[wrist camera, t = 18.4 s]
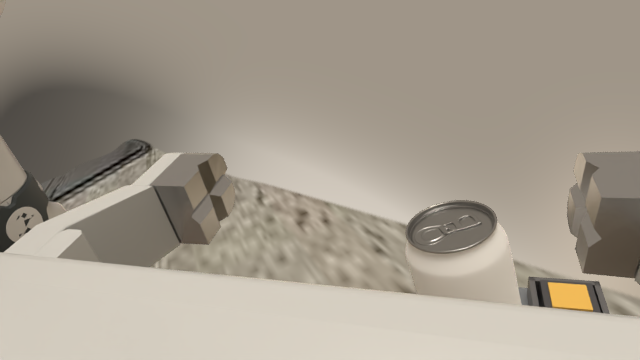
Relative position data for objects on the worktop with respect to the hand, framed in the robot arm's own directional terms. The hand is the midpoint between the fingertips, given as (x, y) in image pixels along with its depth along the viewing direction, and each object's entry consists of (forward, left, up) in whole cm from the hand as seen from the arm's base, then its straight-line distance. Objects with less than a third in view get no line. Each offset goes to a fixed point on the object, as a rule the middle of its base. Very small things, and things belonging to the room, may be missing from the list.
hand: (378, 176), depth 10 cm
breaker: (+9, +17, -24) cm, 31 cm away
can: (+3, +12, -24) cm, 27 cm away
